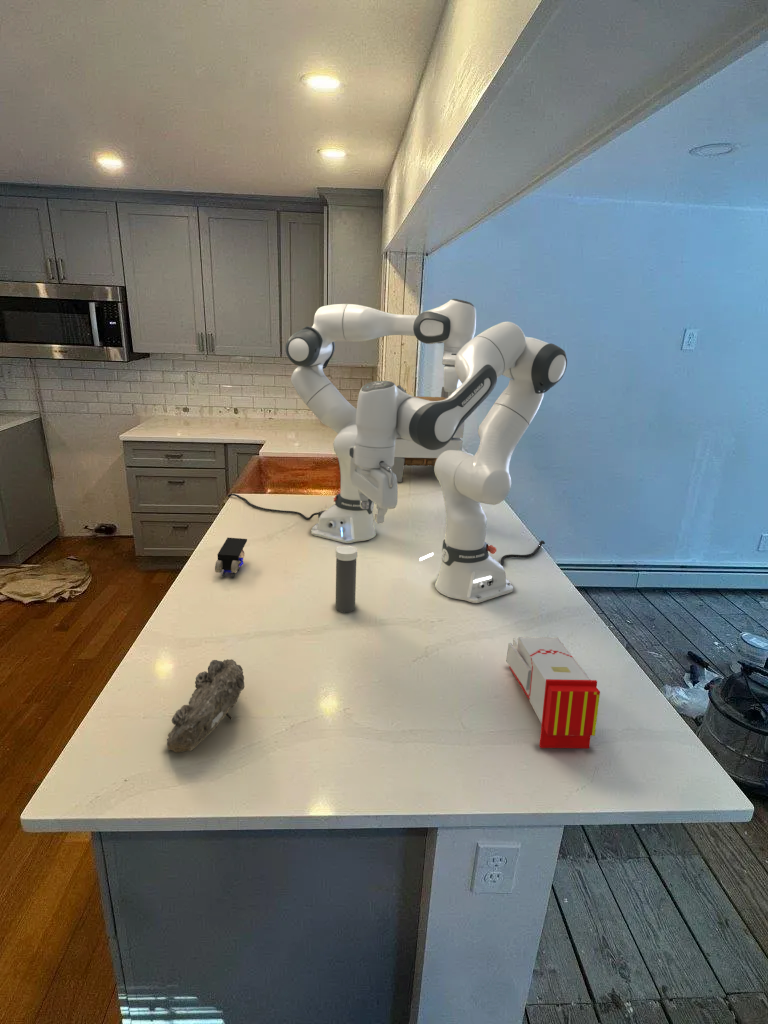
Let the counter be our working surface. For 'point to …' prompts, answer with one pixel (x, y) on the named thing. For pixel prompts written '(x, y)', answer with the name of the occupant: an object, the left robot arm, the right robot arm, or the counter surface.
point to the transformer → (419, 455)
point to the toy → (555, 691)
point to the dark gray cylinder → (345, 585)
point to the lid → (346, 553)
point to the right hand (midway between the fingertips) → (371, 515)
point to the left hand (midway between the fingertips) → (454, 403)
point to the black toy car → (230, 556)
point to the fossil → (206, 705)
